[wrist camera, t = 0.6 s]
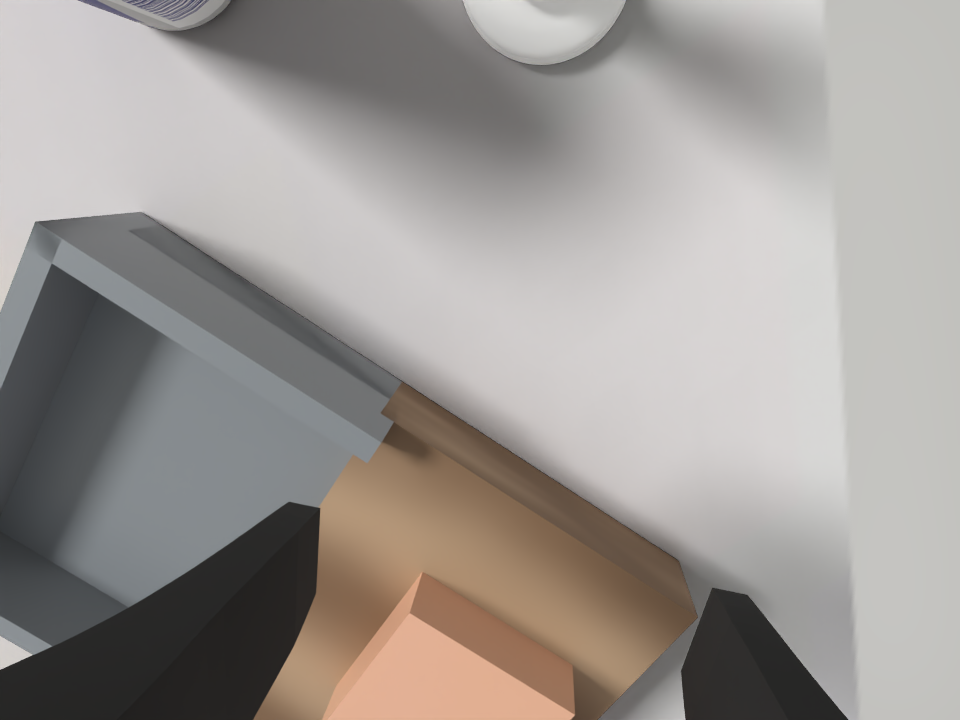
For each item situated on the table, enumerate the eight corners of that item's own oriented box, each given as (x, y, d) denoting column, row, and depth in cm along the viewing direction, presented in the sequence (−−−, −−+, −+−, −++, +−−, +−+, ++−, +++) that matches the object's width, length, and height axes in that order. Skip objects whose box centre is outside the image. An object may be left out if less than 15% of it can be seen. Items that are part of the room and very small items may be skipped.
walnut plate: (471, 783, 27) (462, 856, 24) (232, 640, 26) (193, 699, 23) (678, 560, 22) (697, 617, 20) (402, 381, 22) (380, 413, 19)
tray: (243, 646, 26) (182, 741, 21) (9, 507, 25) (-103, 576, 21) (414, 389, 22) (381, 442, 17) (140, 211, 21) (35, 221, 17)
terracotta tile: (475, 770, 22) (469, 825, 21) (335, 686, 22) (315, 734, 20) (572, 665, 21) (575, 715, 19) (422, 571, 20) (409, 612, 18)
